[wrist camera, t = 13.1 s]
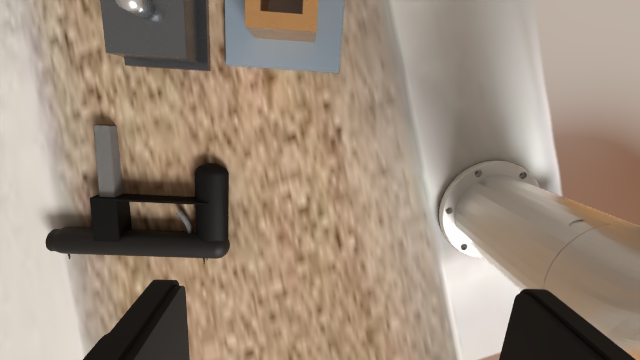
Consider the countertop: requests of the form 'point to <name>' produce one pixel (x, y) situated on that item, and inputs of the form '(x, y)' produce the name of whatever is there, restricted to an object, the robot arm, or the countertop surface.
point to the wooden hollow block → (281, 22)
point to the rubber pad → (282, 52)
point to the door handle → (114, 209)
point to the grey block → (158, 32)
